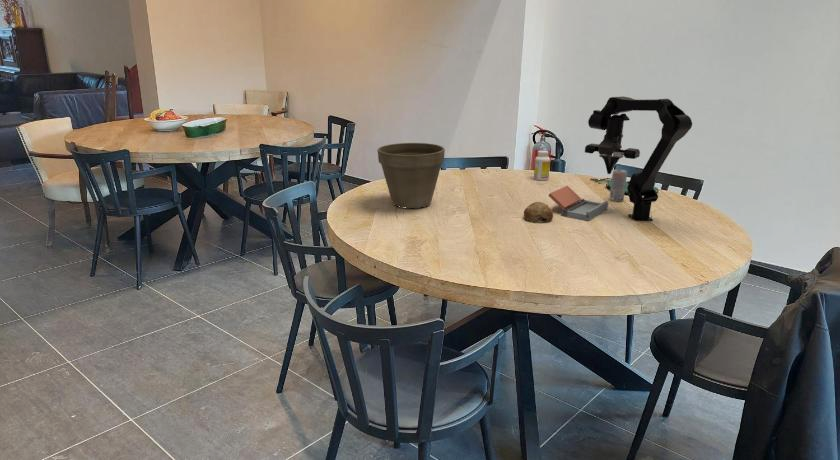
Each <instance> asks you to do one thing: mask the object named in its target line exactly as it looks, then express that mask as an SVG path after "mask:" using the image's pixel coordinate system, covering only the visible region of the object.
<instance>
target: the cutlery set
mask: <svg viewBox="0 0 840 460" xmlns="http://www.w3.org/2000/svg"><path fill="white" fill-rule="evenodd" d="M598 179H600V180H598ZM606 179H611V180H606ZM591 180H593V182H595V183H597V184H598V185H600V184H601V182H603V184H605V187H606V188H608V189H611V182H612V177H611V178H610V177H605V178H590V181H591ZM629 181H630V180H629ZM629 181H627V180H626V185H625V193H624V194H627V195H629V193H628V190H627V187H628V182H629ZM653 189H654V190H655V192H656V193H658V192H659V188H658V187H656V186H654V188H653Z"/></svg>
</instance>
